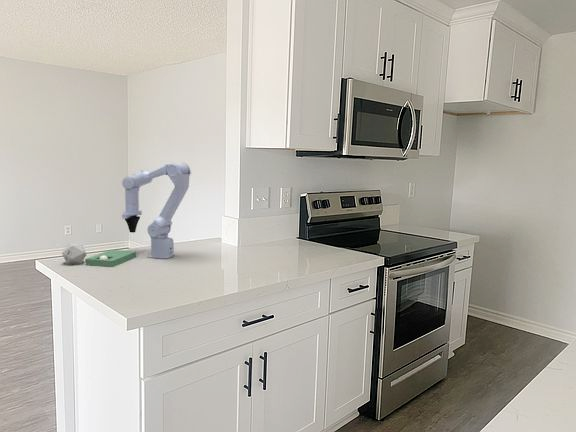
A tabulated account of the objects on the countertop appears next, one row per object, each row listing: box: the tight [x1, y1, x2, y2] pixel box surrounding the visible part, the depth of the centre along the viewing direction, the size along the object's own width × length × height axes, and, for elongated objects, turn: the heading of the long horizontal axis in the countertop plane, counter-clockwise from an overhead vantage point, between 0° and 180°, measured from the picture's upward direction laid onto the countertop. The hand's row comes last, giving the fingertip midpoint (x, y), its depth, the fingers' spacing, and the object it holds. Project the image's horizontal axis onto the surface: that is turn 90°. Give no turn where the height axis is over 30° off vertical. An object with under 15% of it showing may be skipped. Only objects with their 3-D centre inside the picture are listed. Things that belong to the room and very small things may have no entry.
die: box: [61, 243, 87, 265], centre depth 189 cm, size 8×9×10 cm
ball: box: [99, 255, 108, 260], centre depth 188 cm, size 4×4×4 cm
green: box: [84, 249, 137, 268], centre depth 195 cm, size 12×19×2 cm, turn 169°
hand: (132, 232), depth 209 cm, fingers closed
